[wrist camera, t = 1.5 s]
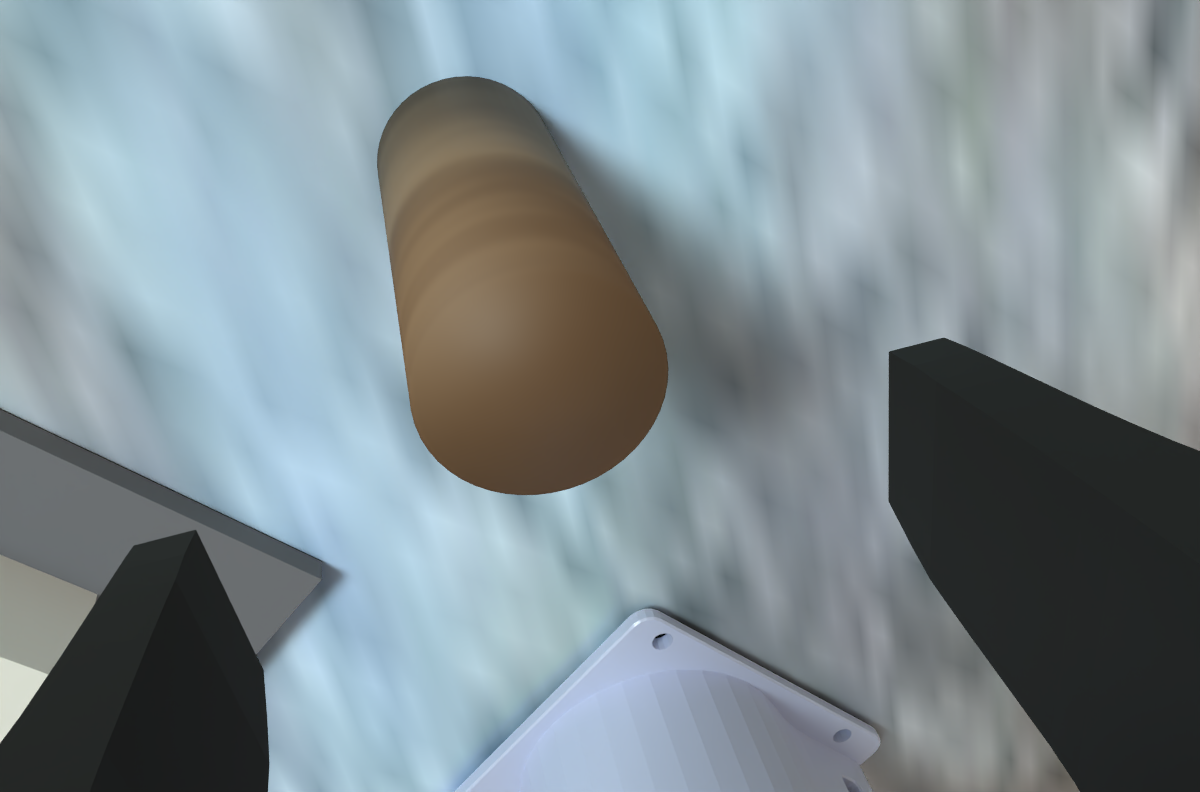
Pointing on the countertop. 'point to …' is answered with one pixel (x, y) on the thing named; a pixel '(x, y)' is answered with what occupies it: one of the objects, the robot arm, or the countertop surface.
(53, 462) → the peg socket
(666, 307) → the countertop surface
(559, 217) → the walnut peg
